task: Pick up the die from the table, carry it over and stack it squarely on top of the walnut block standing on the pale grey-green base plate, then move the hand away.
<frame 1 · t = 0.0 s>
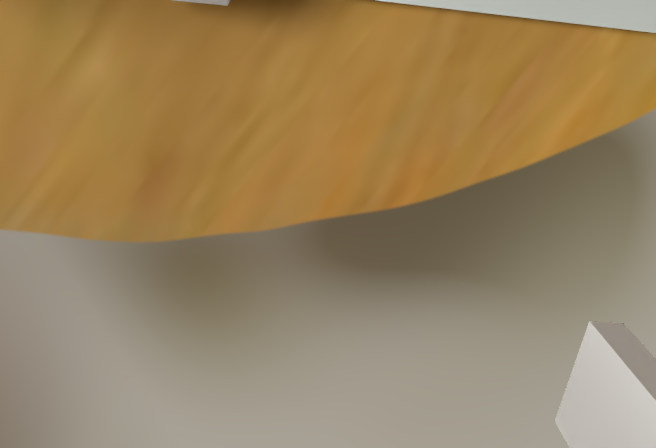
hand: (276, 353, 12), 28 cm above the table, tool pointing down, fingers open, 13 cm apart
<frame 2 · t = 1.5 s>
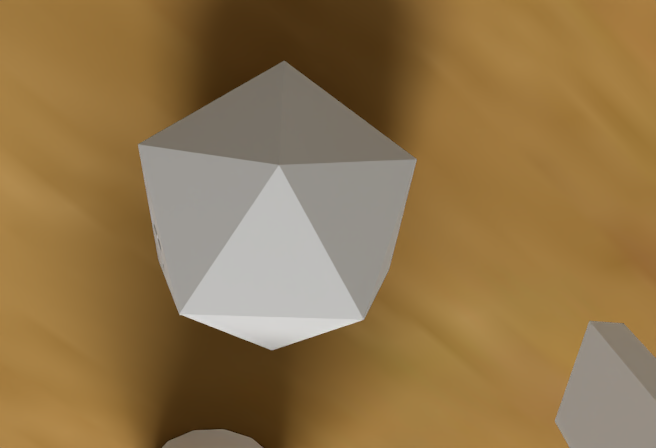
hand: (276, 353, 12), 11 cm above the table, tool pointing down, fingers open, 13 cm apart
die: (280, 173, 22), on the table
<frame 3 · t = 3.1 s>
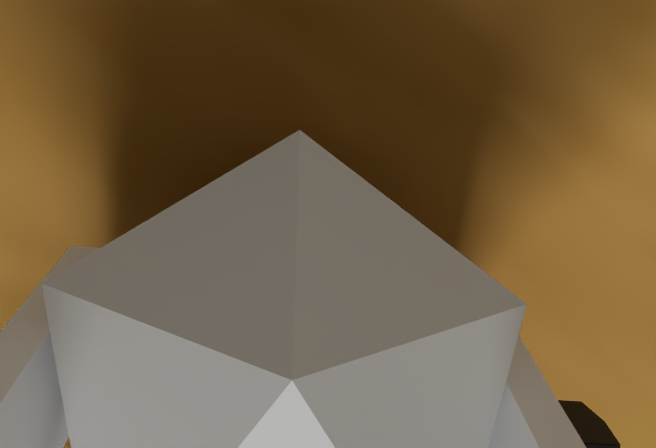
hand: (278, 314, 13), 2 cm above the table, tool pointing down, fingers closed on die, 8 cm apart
die: (288, 275, 15), on the table, touching gripper
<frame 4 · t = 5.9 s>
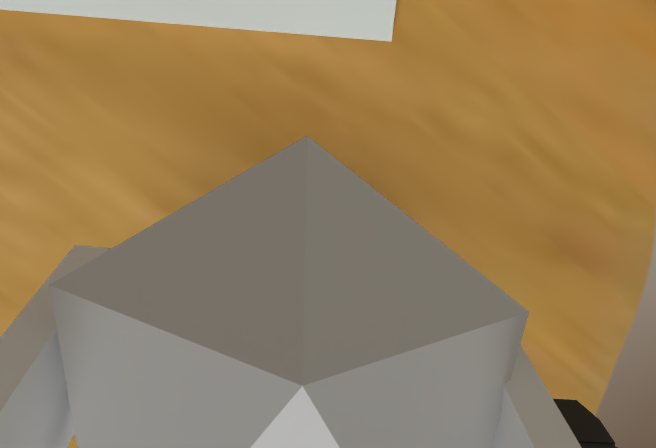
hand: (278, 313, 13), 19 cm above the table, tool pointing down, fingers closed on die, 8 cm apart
die: (290, 278, 15), point 17 cm above the table, touching gripper
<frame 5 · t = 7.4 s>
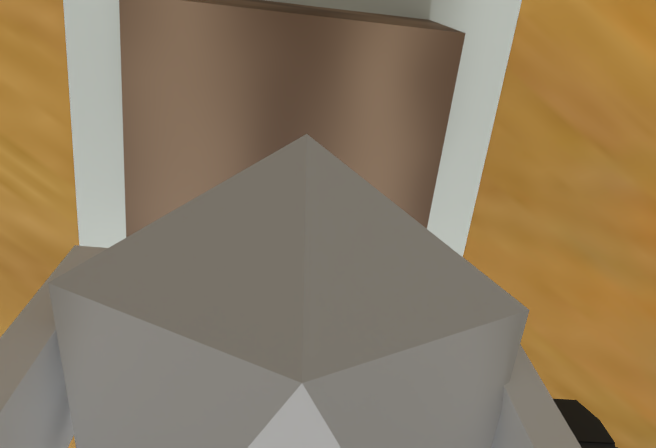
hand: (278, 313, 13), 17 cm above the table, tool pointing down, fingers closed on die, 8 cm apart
die: (289, 277, 15), point 15 cm above the table, touching gripper
walnut block: (285, 136, 28), point 1 cm above the table, touching base plate
base plate: (285, 131, 29), on the table
when the fingers open (11 cm above the table, at t = 8.8 s): die drops 2 cm, resting on walnut block.
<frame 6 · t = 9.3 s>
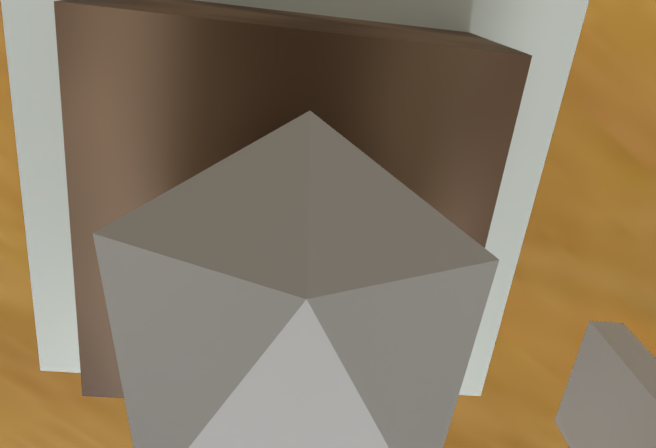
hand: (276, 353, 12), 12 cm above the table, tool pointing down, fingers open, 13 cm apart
die: (294, 245, 17), point 7 cm above the table, touching walnut block
walnut block: (286, 176, 22), point 1 cm above the table, touching base plate, die
base plate: (286, 168, 23), on the table
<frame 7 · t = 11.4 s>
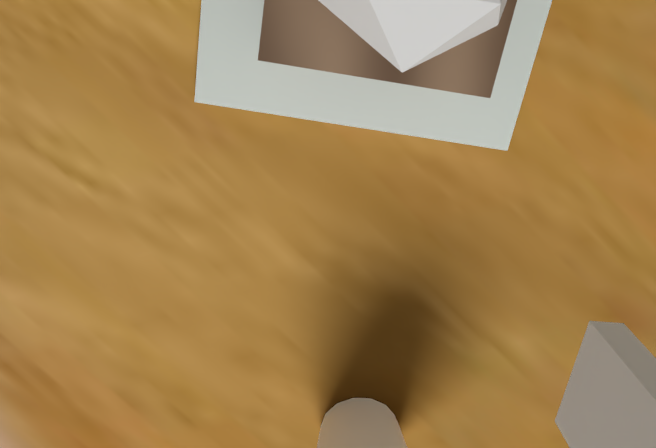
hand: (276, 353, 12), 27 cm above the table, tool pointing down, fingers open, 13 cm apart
foam cup: (358, 425, 48), on the table
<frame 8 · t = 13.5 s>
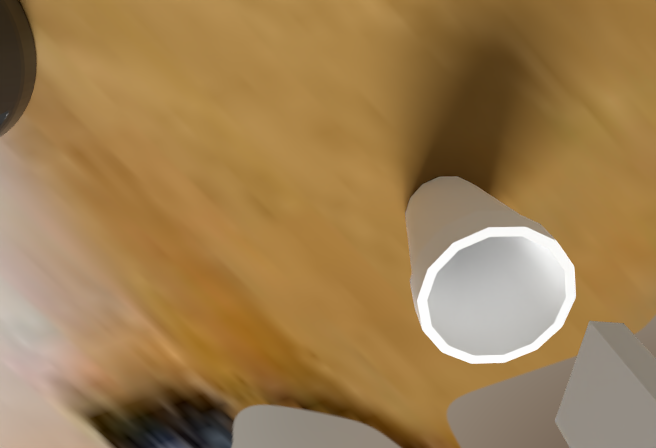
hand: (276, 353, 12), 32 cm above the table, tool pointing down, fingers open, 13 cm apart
foam cup: (444, 212, 46), on the table
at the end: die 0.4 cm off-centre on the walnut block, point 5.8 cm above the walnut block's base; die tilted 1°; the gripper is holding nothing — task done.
